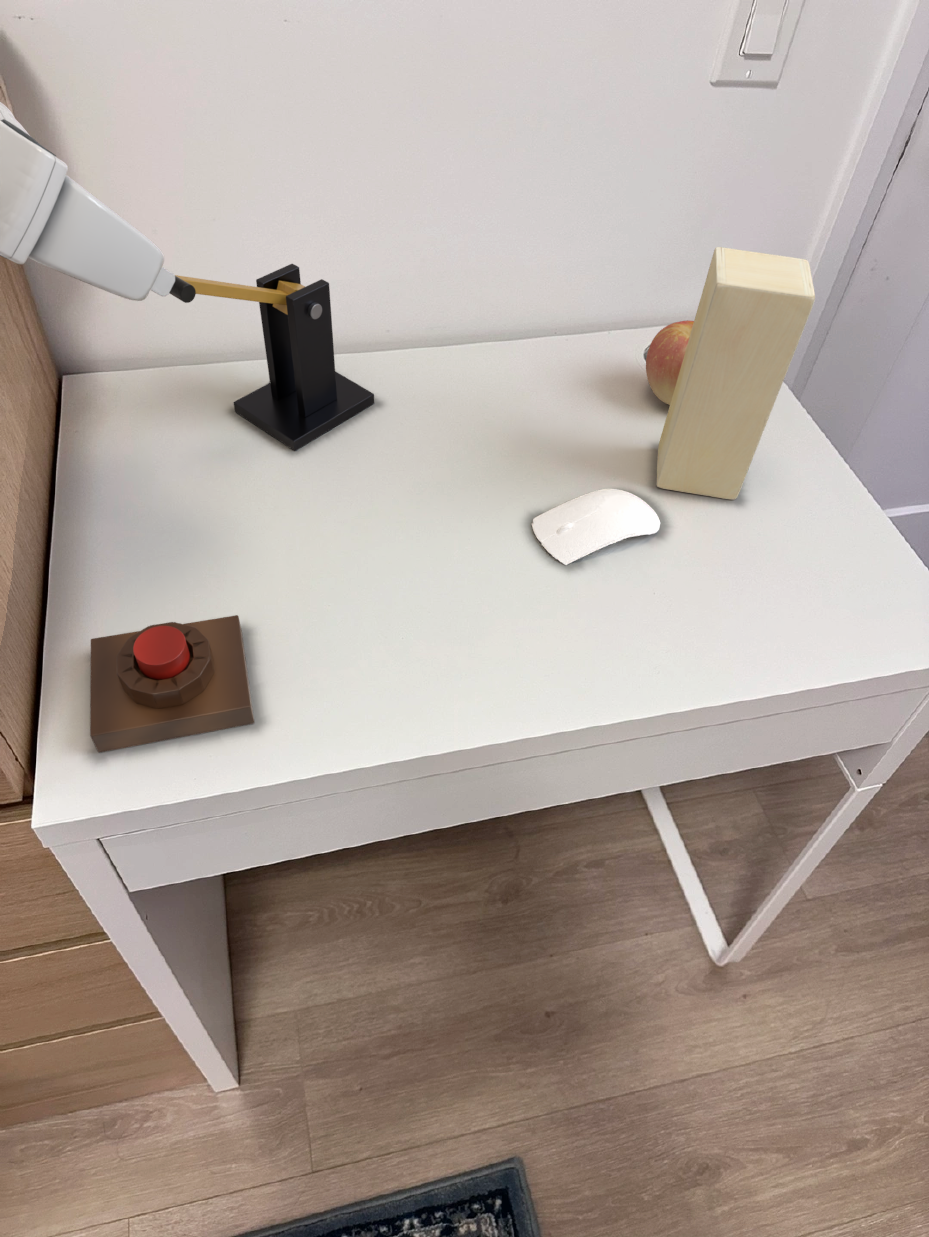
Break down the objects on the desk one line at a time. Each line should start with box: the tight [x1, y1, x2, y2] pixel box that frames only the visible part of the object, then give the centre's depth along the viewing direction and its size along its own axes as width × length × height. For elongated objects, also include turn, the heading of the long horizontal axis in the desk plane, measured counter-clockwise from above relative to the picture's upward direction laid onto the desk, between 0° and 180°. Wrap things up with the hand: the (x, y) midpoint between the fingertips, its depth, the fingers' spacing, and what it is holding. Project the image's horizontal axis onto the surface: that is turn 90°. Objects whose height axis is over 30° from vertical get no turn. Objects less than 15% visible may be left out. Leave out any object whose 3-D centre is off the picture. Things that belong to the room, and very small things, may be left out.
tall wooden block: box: [656, 246, 816, 500], centre depth 78 cm, size 8×7×21 cm
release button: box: [133, 626, 190, 680], centre depth 63 cm, size 4×4×2 cm
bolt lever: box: [169, 274, 306, 315], centre depth 75 cm, size 16×5×2 cm, turn 139°
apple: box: [645, 320, 694, 406], centre depth 92 cm, size 9×9×8 cm
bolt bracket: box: [233, 263, 375, 452], centre depth 85 cm, size 11×9×14 cm
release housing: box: [89, 614, 255, 753], centre depth 65 cm, size 11×9×4 cm
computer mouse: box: [531, 488, 661, 566], centre depth 79 cm, size 7×12×2 cm, turn 115°
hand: (127, 260), depth 65 cm, fingers open, 8 cm apart
